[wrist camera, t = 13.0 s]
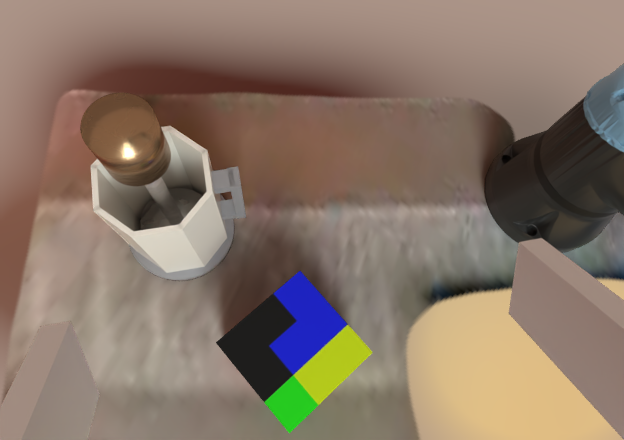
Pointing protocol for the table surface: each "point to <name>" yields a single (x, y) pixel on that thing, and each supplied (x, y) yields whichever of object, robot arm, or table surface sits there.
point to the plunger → (136, 155)
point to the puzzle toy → (294, 350)
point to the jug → (194, 227)
